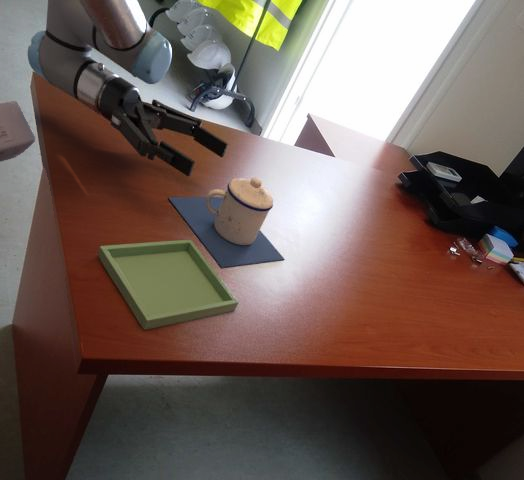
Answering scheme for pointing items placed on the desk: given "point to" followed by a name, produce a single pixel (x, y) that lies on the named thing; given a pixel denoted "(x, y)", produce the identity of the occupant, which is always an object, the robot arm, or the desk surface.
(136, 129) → the robot arm
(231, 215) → the teacup with lid
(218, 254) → the mat
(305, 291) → the desk surface
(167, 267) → the tray
